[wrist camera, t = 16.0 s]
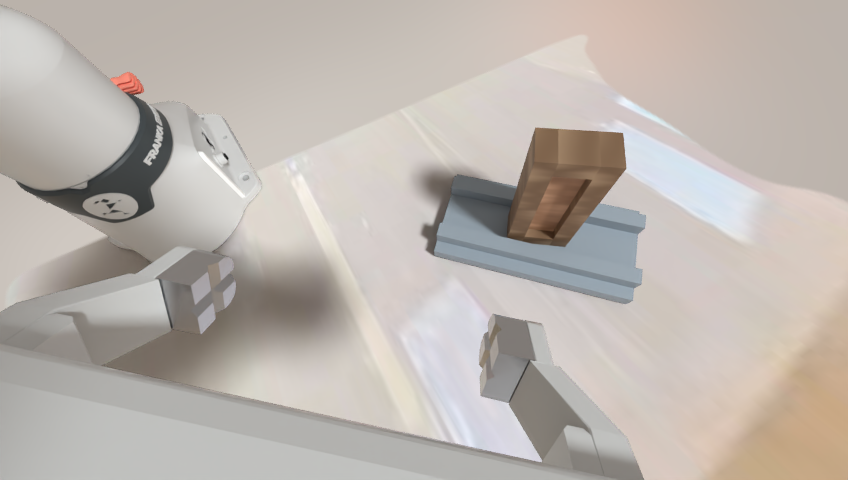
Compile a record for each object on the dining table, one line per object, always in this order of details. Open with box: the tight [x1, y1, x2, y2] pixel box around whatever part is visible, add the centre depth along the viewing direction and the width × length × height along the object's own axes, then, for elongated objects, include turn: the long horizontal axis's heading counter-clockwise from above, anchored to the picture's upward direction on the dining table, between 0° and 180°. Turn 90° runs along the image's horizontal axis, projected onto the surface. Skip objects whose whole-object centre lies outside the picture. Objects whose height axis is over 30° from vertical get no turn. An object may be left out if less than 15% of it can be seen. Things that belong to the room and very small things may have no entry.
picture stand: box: [434, 174, 646, 304], centre depth 37 cm, size 20×10×3 cm, turn 73°
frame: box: [507, 128, 626, 247], centre depth 31 cm, size 6×3×14 cm, turn 81°
